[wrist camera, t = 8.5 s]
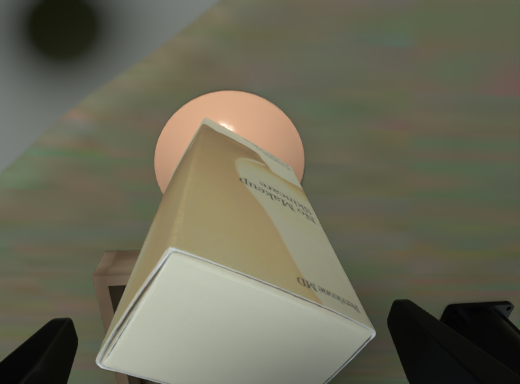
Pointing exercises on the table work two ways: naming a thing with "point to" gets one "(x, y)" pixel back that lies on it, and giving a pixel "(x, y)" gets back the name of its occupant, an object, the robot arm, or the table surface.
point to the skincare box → (235, 278)
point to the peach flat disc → (235, 119)
